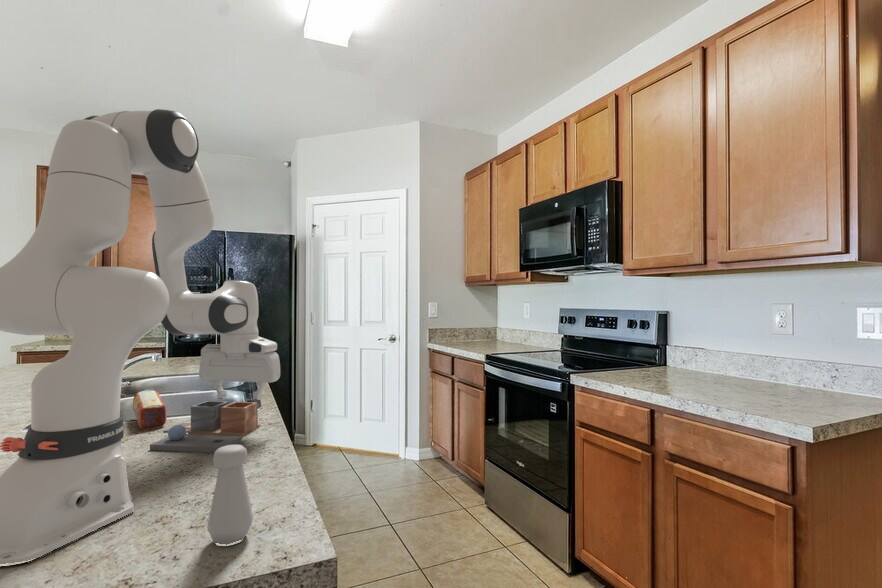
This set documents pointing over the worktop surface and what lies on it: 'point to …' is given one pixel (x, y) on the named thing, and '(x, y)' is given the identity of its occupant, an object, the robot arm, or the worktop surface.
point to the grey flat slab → (196, 443)
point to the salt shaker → (230, 497)
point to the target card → (185, 425)
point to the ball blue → (176, 433)
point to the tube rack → (224, 418)
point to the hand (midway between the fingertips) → (239, 399)
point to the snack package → (149, 410)
